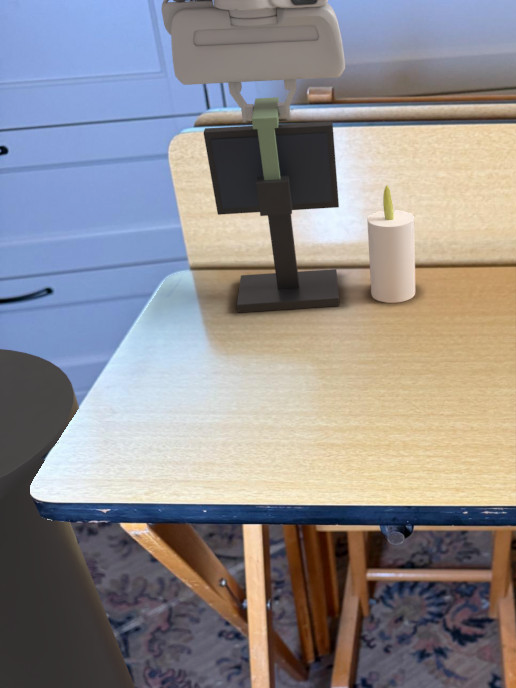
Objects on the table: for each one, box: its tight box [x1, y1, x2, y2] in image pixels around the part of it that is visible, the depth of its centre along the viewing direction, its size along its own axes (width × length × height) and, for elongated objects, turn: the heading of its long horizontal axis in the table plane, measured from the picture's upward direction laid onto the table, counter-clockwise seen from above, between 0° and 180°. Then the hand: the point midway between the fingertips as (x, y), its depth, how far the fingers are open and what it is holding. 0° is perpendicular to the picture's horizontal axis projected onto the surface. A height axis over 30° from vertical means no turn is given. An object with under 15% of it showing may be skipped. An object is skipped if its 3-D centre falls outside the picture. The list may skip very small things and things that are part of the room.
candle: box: [366, 185, 416, 304], centre depth 108 cm, size 6×6×15 cm
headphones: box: [251, 96, 293, 217], centre depth 101 cm, size 4×12×11 cm, turn 5°
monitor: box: [203, 120, 340, 314], centre depth 106 cm, size 16×10×22 cm, turn 95°
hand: (267, 120), depth 99 cm, fingers closed on headphones, 3 cm apart
